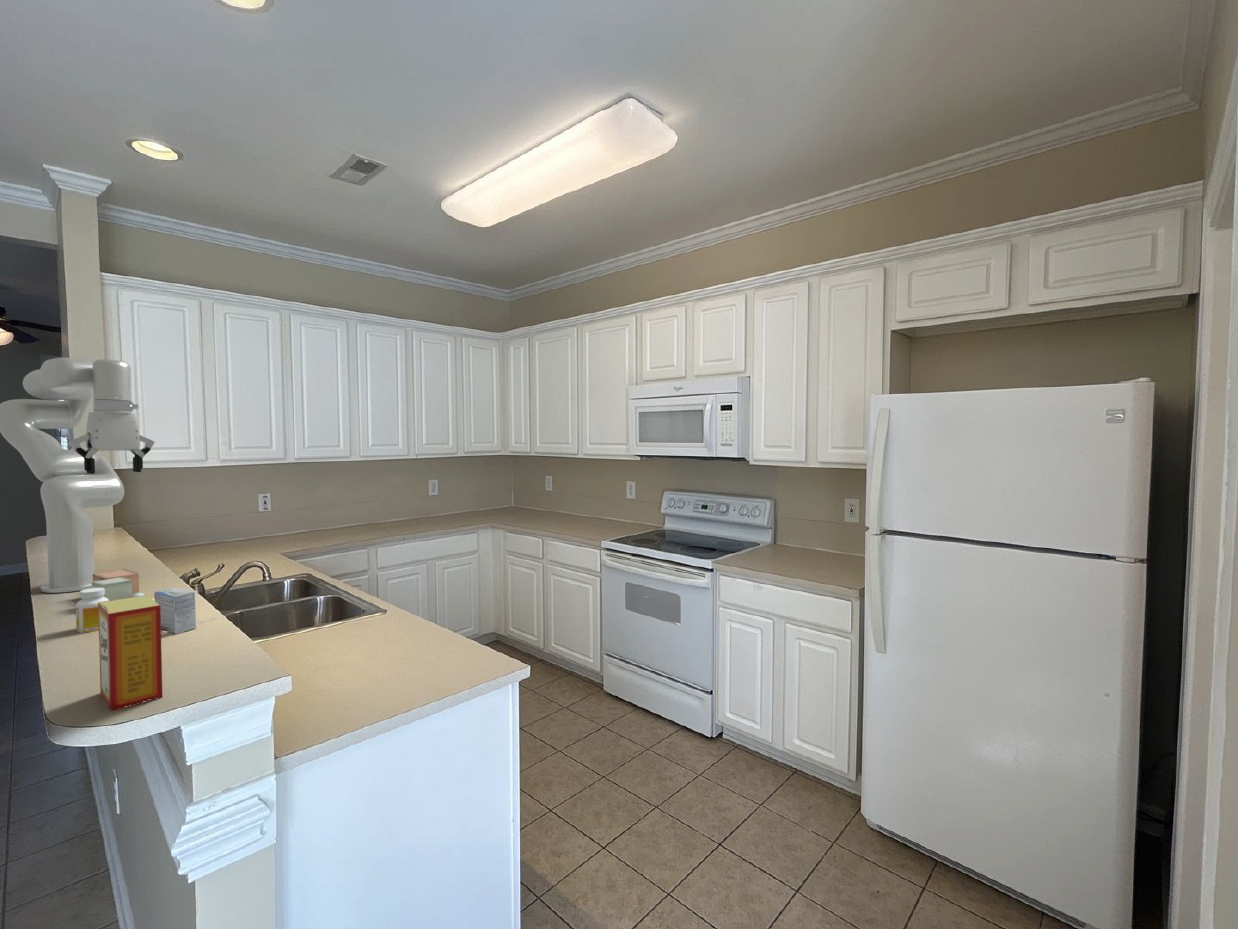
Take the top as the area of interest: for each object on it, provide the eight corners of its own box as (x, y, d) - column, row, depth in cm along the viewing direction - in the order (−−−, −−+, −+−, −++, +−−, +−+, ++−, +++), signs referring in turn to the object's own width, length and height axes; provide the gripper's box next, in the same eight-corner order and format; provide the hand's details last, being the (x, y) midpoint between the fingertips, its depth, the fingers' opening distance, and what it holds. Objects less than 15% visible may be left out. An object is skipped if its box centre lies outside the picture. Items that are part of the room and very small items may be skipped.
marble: (132, 608, 142) (127, 602, 144) (147, 605, 145) (141, 600, 146) (134, 597, 142) (129, 591, 143) (149, 595, 144) (144, 589, 146)
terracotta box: (93, 596, 150) (92, 573, 150) (124, 591, 156) (124, 569, 156) (107, 602, 146) (106, 578, 145) (139, 596, 151) (138, 573, 151)
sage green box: (92, 606, 142) (91, 581, 142) (122, 600, 147) (122, 577, 147) (101, 610, 139) (101, 585, 139) (132, 604, 144) (132, 580, 144)
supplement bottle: (116, 630, 129) (115, 587, 129) (92, 638, 124) (91, 593, 123) (94, 629, 130) (93, 586, 129) (69, 637, 124) (68, 592, 124)
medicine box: (196, 629, 131) (196, 591, 130) (174, 635, 127) (174, 596, 126) (176, 623, 134) (175, 586, 134) (154, 629, 130) (153, 591, 130)
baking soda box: (100, 693, 98) (97, 600, 97) (149, 681, 103) (147, 592, 102) (111, 711, 92) (108, 612, 91) (162, 697, 97) (160, 603, 96)
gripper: (146, 409, 161) (148, 470, 162) (63, 406, 146) (65, 473, 147) (158, 409, 157) (160, 472, 158) (74, 405, 142) (76, 475, 143)
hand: (114, 472), depth 152 cm, fingers open, 9 cm apart
